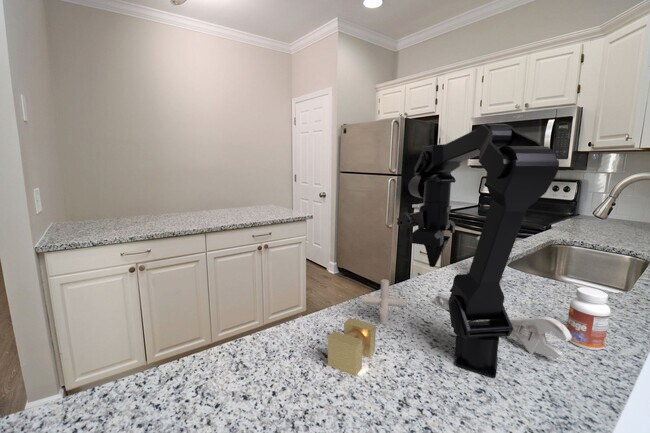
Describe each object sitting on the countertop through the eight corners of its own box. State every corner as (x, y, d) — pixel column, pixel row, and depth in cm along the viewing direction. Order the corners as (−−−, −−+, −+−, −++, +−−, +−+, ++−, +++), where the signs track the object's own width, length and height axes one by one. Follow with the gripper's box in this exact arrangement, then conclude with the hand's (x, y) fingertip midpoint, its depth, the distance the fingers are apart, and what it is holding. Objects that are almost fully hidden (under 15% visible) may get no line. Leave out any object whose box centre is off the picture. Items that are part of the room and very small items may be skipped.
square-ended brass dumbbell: (349, 343, 62) (349, 317, 61) (374, 351, 59) (375, 325, 58) (327, 365, 55) (328, 337, 54) (355, 376, 52) (356, 346, 51)
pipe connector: (407, 335, 65) (409, 291, 63) (360, 330, 67) (361, 287, 65) (404, 313, 75) (406, 274, 73) (363, 309, 77) (364, 271, 75)
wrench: (439, 313, 81) (572, 367, 54) (434, 315, 80) (566, 370, 53) (439, 284, 80) (572, 323, 54) (433, 285, 80) (566, 325, 53)
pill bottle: (557, 334, 66) (564, 285, 64) (586, 334, 66) (594, 285, 64) (581, 351, 60) (589, 298, 58) (613, 351, 60) (622, 298, 58)
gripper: (413, 196, 82) (410, 252, 85) (388, 203, 67) (386, 271, 69) (457, 198, 77) (453, 258, 79) (441, 207, 61) (437, 281, 64)
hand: (432, 266), depth 73 cm, fingers closed
